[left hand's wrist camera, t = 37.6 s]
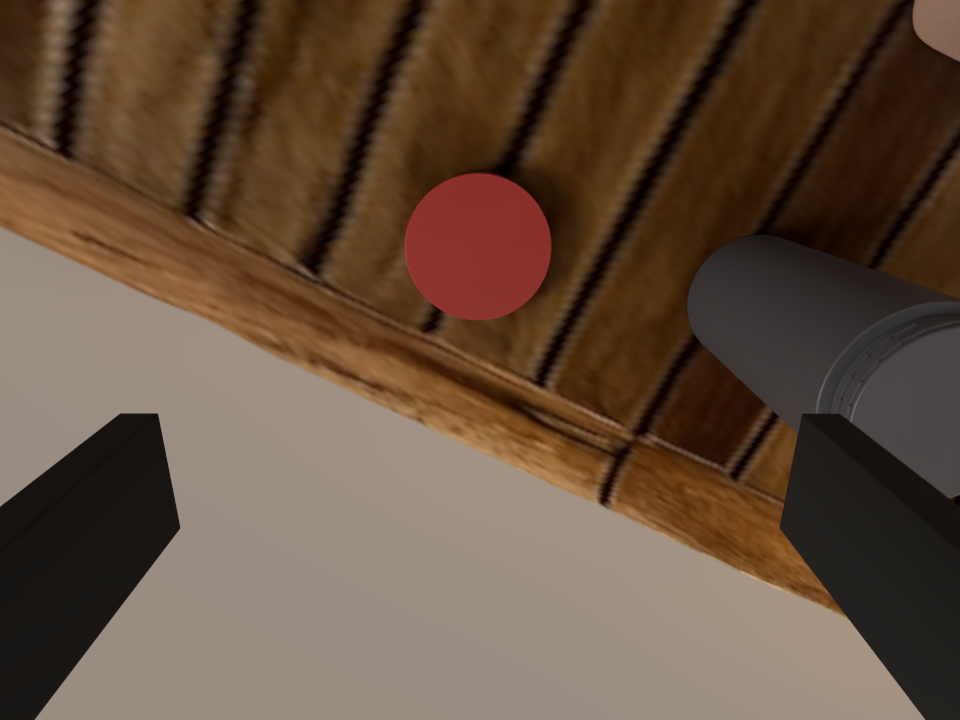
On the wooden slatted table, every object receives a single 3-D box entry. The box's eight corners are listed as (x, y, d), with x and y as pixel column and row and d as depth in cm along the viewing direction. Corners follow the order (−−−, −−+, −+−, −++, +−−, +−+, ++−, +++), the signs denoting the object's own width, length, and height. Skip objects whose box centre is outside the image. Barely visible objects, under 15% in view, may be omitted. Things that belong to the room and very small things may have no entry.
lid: (413, 163, 39) (409, 164, 37) (558, 180, 39) (562, 182, 38) (403, 305, 42) (400, 312, 41) (538, 319, 43) (540, 327, 41)
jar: (788, 209, 40) (1032, 268, 22) (834, 320, 43) (1086, 452, 25) (665, 277, 42) (803, 383, 24) (717, 380, 44) (876, 545, 26)
